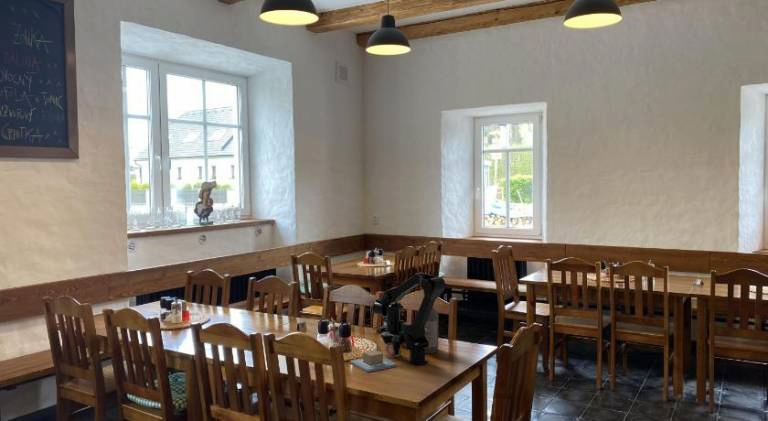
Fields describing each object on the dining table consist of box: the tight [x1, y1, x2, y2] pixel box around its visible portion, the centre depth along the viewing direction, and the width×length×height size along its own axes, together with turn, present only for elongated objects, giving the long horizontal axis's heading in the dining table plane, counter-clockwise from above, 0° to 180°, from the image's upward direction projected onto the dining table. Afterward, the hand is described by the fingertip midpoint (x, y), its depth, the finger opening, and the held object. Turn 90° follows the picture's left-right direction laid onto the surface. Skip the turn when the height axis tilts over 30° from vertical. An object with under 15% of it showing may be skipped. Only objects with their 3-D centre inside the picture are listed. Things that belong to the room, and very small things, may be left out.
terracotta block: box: [384, 343, 402, 359], centre depth 264 cm, size 5×5×5 cm
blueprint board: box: [349, 349, 397, 373], centre depth 251 cm, size 14×14×5 cm
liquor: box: [415, 288, 439, 354], centre depth 270 cm, size 9×9×30 cm
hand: (393, 353), depth 264 cm, fingers closed on terracotta block, 5 cm apart
